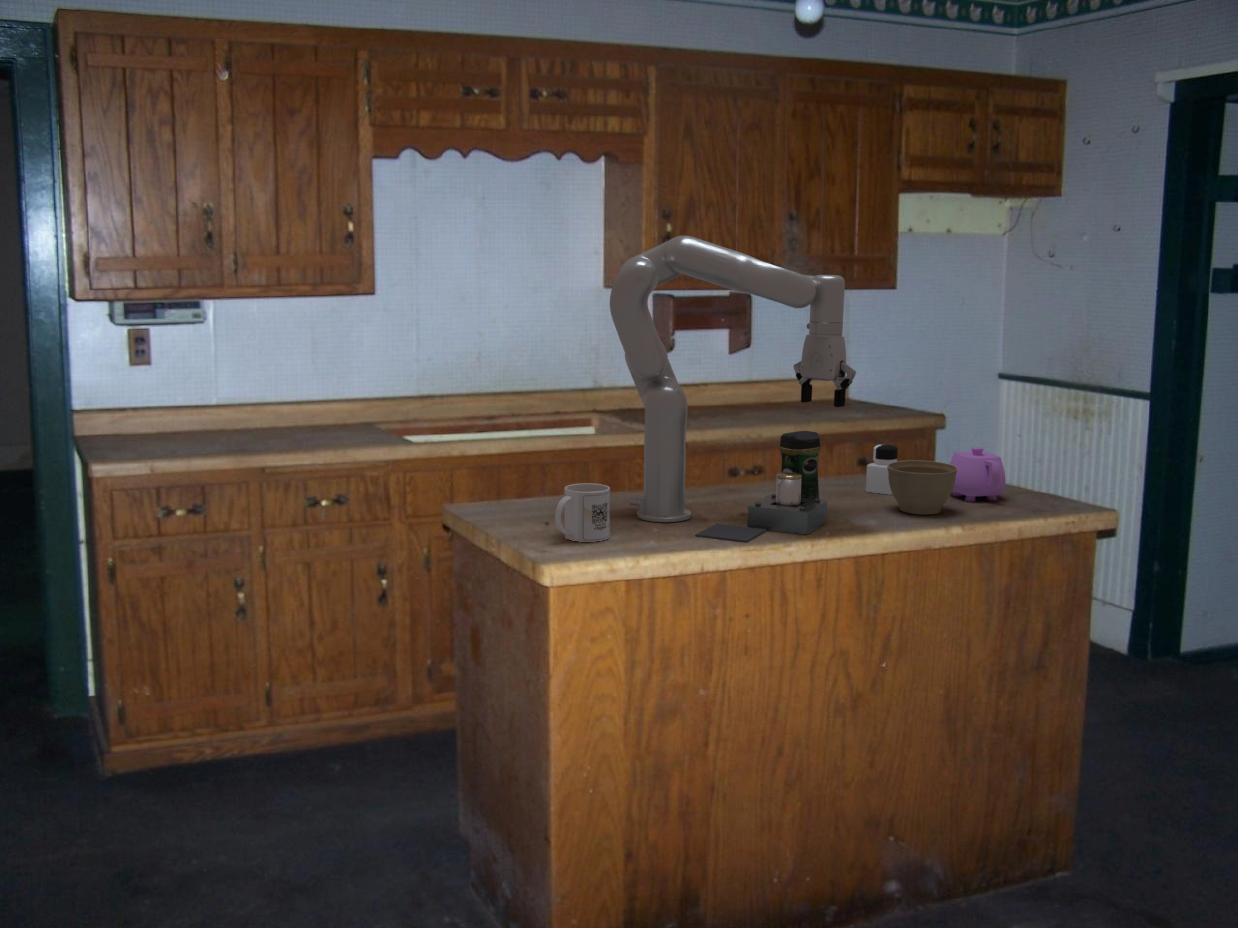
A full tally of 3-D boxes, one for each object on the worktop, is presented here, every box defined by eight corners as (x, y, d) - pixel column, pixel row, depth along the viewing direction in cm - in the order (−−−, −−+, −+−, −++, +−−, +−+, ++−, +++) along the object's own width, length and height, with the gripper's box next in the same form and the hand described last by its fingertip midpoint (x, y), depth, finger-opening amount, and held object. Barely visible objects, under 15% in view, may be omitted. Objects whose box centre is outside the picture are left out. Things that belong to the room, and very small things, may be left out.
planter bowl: (872, 506, 310) (874, 462, 308) (928, 502, 316) (930, 458, 314) (911, 520, 296) (913, 474, 294) (968, 515, 302) (971, 470, 300)
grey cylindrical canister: (771, 526, 290) (772, 475, 287) (779, 521, 294) (781, 471, 292) (795, 528, 287) (796, 477, 285) (803, 523, 292) (804, 473, 290)
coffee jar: (801, 502, 315) (803, 427, 312) (824, 507, 309) (827, 431, 306) (772, 507, 310) (774, 431, 306) (794, 512, 303) (797, 435, 300)
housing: (747, 527, 288) (747, 503, 287) (769, 515, 300) (769, 492, 299) (807, 534, 281) (807, 509, 280) (826, 522, 294) (827, 498, 293)
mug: (611, 543, 273) (611, 492, 271) (555, 544, 272) (555, 493, 270) (608, 532, 283) (608, 482, 281) (553, 532, 282) (553, 483, 280)
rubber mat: (695, 536, 279) (695, 534, 279) (716, 525, 290) (716, 523, 290) (747, 542, 274) (747, 540, 274) (766, 531, 285) (766, 529, 285)
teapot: (1017, 504, 315) (1021, 453, 312) (972, 506, 312) (975, 455, 309) (975, 488, 334) (978, 440, 331) (932, 490, 331) (934, 441, 328)
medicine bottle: (902, 490, 330) (904, 444, 328) (892, 495, 324) (894, 448, 322) (875, 487, 334) (877, 442, 332) (865, 492, 328) (867, 445, 326)
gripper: (786, 327, 296) (783, 401, 299) (845, 333, 283) (842, 409, 286) (807, 326, 301) (804, 399, 304) (866, 331, 288) (862, 407, 291)
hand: (822, 404), depth 295 cm, fingers open, 9 cm apart
